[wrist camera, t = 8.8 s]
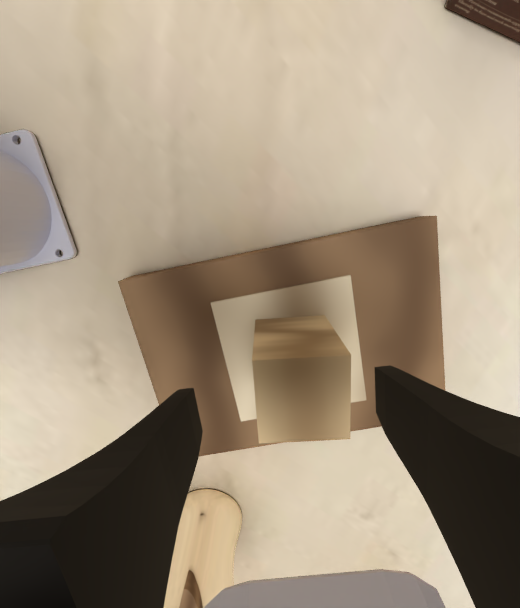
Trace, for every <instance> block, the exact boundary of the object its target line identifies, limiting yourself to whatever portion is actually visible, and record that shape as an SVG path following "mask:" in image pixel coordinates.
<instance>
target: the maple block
mask: <svg viewBox="0 0 520 608" xmlns="http://www.w3.org/2000/svg"><path fill="white" fill-rule="evenodd" d="M252 366H253V379H254V391H255V403H256V415H257V427H258V439H259V444H260V443H280V442H300V441H320V440H340V439H350V415H351V354H350V352H349V351H348V349H347V348H346V346H345V345H344V343H343V342H342V340H341V339H340V337H339V336H338V334H337V333H336V331H335V330H334V328H333V327H332V325H331V324H330V322H329V321H328V319H327V318H326V316H325V315H321V316H305V317H289V318H272V319H256V320H255V331H254V343H253V355H252Z"/></svg>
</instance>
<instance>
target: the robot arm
mask: <svg viewBox="0 0 520 608" xmlns="http://www.w3.org/2000/svg"><path fill="white" fill-rule="evenodd" d="M19 137H20V139H21V143H20V144H18V142H17V140H18V138H19ZM60 250H62V252H63V256H61V255H60V254H59V251H60ZM76 254H77V250H76V247H75V245H74V242H73V239H72V236H71V233H70V231H69V228H68V225H67V222H66V220H65V217H64V214H63V211H62V208H61V206H60V203H59V200H58V197H57V195H56V192H55V189H54V186H53V184H52V181H51V178H50V175H49V172H48V170H47V167H46V164H45V161H44V159H43V156H42V153H41V150H40V147H39V145H38V142H37V139H36V137H35V135H34V134H33V133H32V132H30V131H28V130H25V129H21V130H17V131H13V132H9V133H5V134H1V135H0V274H2V273H7V272H11V271H16V270H21V269H25V268H30V267H35V266H39V265H44V264H49V263H54V262H58V261H63V260H68V259H72V258H74V257H75V256H76ZM375 399H376V414H377V416H378V418H379V421H380V423H381V425H382V428H383V430H384V432H385V434H386V436H387V438H388V439H389V441H390V443H391V444H392V446H393V448H394V449H395V451H396V453H397V454H398V456H399V458H400V459H401V461H402V462H403V464H404V466H405V467H406V469H407V471H408V472H409V474H410V475H411V477H412V479H413V480H414V482H415V484H416V485H417V487H418V488H419V490H420V492H421V494H422V495H423V497H424V499H425V501H426V503H427V504H428V507H429V509H430V511H431V513H432V515H433V517H434V519H435V521H436V523H437V525H438V527H439V529H440V531H441V533H442V535H443V537H444V539H445V541H446V543H447V546H448V548H449V550H450V552H451V554H452V556H453V558H454V560H455V563H456V565H457V567H458V569H459V571H460V573H461V576H462V578H463V580H464V582H465V585H466V587H467V589H468V591H469V594H470V596H471V598H472V600H473V603H474V605H475V607H476V608H520V417H517V416H513V415H510V414H507V413H503V412H500V411H497V410H494V409H491V408H488V407H485V406H482V405H479V404H477V403H474V402H471V401H469V400H466V399H464V398H461V397H459V396H456V395H454V394H452V393H449V392H447V391H445V390H442V389H440V388H438V387H436V386H434V385H431V384H429V383H427V382H425V381H423V380H421V379H419V378H417V377H415V376H413V375H411V374H409V373H407V372H405V371H403V370H400V369H398V368H396V367H393V366H391V365H389V366H380V367H375ZM202 433H203V430H202V425H201V420H200V416H199V411H198V406H197V401H196V397H195V392H194V388H186V389H179V390H177V391H176V392H174V393H173V394H172V395H171V396H169V397H168V398H167V399H166V400H165V401H164V402H162V403H161V404H160V405H159V406H158V407H157V408H155V409H154V410H153V411H152V412H151V413H150V414H148V415H147V416H146V417H145V418H144V419H142V420H141V421H140V422H139V423H137V424H136V425H135V426H133V427H132V428H131V429H130V430H128V431H127V432H126V433H125V434H123V435H122V436H120V437H119V438H118V439H116V440H115V441H113V442H112V443H111V444H109V445H107V446H106V447H104V448H103V449H101V450H100V451H98V452H97V453H95V454H94V455H92V456H90V457H88V458H87V459H85V460H83V461H82V462H80V463H78V464H76V465H75V466H73V467H71V468H69V469H68V470H66V471H64V472H62V473H60V474H58V475H56V476H54V477H52V478H50V479H48V480H47V481H44V482H42V483H40V484H38V485H36V486H34V487H32V488H30V489H28V490H25V491H23V492H21V493H19V494H16V495H14V496H12V497H9V498H7V499H4V500H2V501H0V608H164V602H165V596H166V590H167V585H168V579H169V573H170V568H171V562H172V557H173V552H174V547H175V542H176V537H177V531H178V527H179V523H180V519H181V515H182V511H183V508H184V504H185V501H186V498H187V494H188V491H189V488H190V484H191V481H192V478H193V474H194V471H195V467H196V464H197V460H198V457H199V452H200V446H201V440H202ZM204 608H445V605H444V603H443V601H442V599H441V597H440V595H439V593H438V591H437V589H436V588H434V587H433V586H431V585H429V584H428V583H426V582H425V581H423V580H422V579H420V578H418V577H417V576H415V575H413V574H411V573H409V572H402V571H393V570H383V569H378V570H367V571H355V572H344V573H332V574H321V575H309V576H298V577H287V578H275V579H264V580H252V581H247V582H244V583H240V584H237V585H234V586H230V587H227V588H224V589H223V590H222V591H221V592H220V593H219V594H218V595H216V596H215V597H214V598H213V599H212V600H211V601H210V602H209V603H208V604H207V605H206V606H205V607H204Z"/></svg>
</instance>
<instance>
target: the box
mask: <svg viewBox="0 0 520 608" xmlns="http://www.w3.org/2000/svg"><path fill="white" fill-rule="evenodd" d="M445 7H446V8H447V9H449V10H451V11H454V12H456V13H458V14H461V15H463V16H465V17H467V18H469V19H471V20H473V21H475V22H478V23H480V24H482V25H484V26H487V27H488V28H490V29H493V30H495V31H497V32H499V33H502V34H504V35H506V36H508V37H510V38H512V39H514V40H517V41H519V42H520V0H447V1H446V5H445Z"/></svg>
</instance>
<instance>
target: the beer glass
mask: <svg viewBox="0 0 520 608" xmlns="http://www.w3.org/2000/svg"><path fill="white" fill-rule="evenodd" d="M241 525H242V513H241V510H240V507H239V506H238V504H237V503H236V501H235V500H234V499H232V498H231V497H230V496H228V495H227V494H225V493H223V492H220V491H217V490H212V489H200V490H195V491H192V492H190V493H188V494H187V498H186V501H185V504H184V508H183V511H182V515H181V519H180V523H179V527H178V531H177V537H176V542H175V547H174V552H173V557H172V562H171V568H170V573H169V579H168V585H167V590H166V596H165V602H164V608H204V607H205V606H206V605H207V604H208V603H209V602H210V601H211V600H212V599H213V598H214V597H215V596H216V595H218V594H219V593H220V592H221V591H222V590H223V589H224V588H227V587H230V586H234V578H233V568H234V555H235V549H236V544H237V541H238V537H239V533H240V529H241Z"/></svg>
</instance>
